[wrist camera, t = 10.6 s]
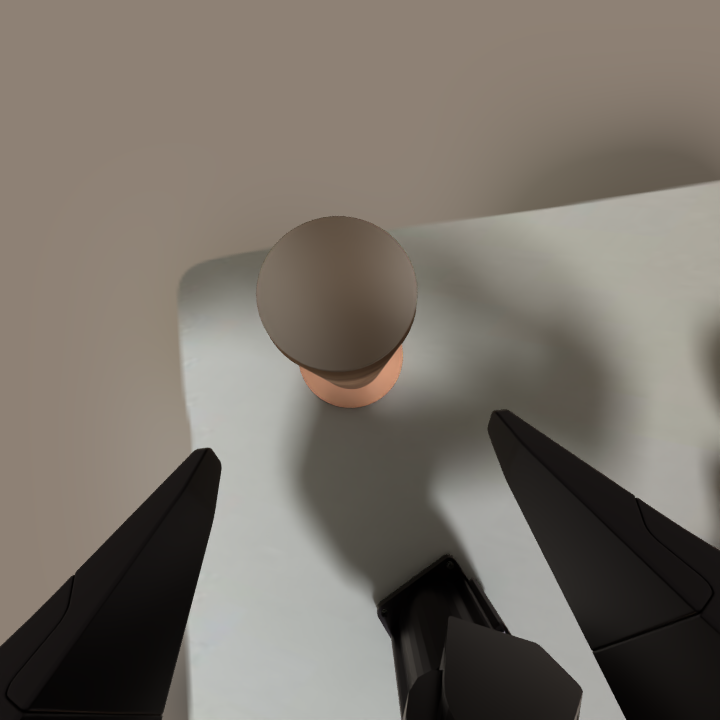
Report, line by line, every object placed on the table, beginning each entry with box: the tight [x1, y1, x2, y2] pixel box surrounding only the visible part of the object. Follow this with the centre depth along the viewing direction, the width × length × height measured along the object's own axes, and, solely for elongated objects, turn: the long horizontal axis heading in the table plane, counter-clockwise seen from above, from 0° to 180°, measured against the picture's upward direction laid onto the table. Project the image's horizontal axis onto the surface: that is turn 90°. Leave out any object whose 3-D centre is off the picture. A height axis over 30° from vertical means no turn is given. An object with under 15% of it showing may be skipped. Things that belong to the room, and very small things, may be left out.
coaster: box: [300, 345, 403, 408], centre depth 21 cm, size 8×8×1 cm
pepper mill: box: [256, 216, 417, 389], centre depth 15 cm, size 5×5×13 cm
